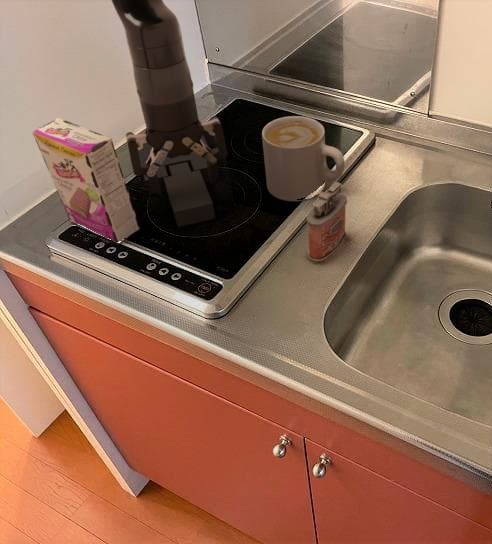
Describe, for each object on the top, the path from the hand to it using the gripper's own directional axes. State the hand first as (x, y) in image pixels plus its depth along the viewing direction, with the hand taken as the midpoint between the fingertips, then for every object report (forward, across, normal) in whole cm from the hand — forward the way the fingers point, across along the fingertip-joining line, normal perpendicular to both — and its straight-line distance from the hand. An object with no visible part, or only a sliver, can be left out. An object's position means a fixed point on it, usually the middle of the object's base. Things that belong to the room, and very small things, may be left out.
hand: (186, 186), depth 91 cm
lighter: (+4, -17, +18) cm, 25 cm away
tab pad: (+4, 0, -2) cm, 4 cm away
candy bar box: (+4, +14, 0) cm, 14 cm away
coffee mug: (+4, -19, +2) cm, 20 cm away
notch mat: (+4, 0, -12) cm, 12 cm away
